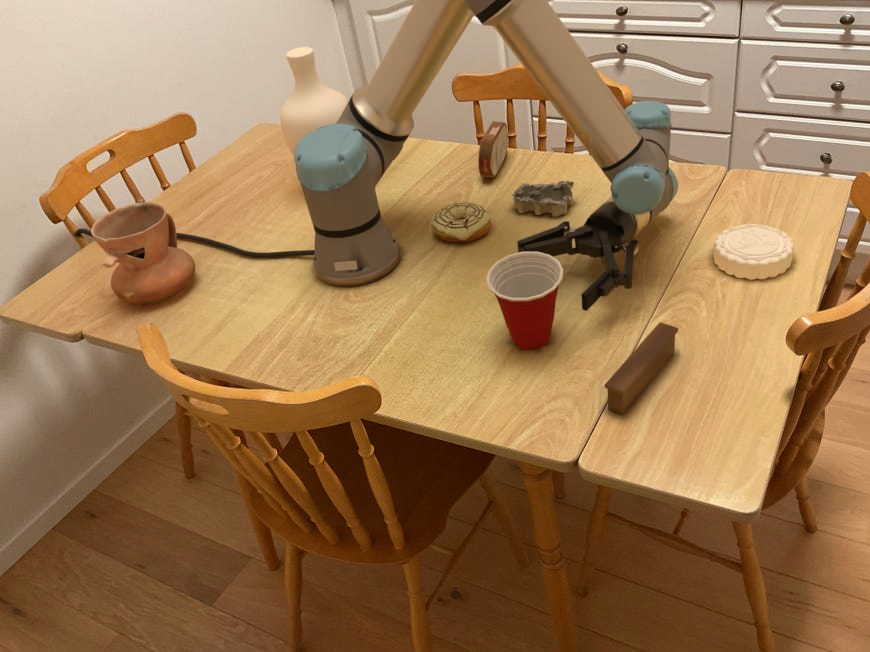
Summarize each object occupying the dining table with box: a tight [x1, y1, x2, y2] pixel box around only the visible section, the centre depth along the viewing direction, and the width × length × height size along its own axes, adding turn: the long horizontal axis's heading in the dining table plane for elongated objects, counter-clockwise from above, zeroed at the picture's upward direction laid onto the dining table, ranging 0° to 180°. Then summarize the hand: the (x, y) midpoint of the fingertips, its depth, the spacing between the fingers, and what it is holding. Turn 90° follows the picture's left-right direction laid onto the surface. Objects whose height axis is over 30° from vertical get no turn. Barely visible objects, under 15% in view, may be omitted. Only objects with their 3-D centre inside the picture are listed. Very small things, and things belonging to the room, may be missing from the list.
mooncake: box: [712, 223, 795, 281], centre depth 123 cm, size 12×12×4 cm
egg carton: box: [511, 180, 575, 218], centre depth 144 cm, size 11×8×4 cm
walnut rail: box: [604, 321, 679, 416], centre depth 104 cm, size 3×15×4 cm, turn 142°
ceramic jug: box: [90, 201, 196, 305], centre depth 135 cm, size 18×14×14 cm
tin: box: [478, 120, 509, 179], centre depth 157 cm, size 15×3×8 cm, turn 164°
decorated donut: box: [430, 201, 492, 243], centre depth 141 cm, size 10×11×4 cm
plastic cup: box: [485, 251, 564, 351], centre depth 111 cm, size 11×11×12 cm
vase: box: [279, 46, 349, 158], centre depth 154 cm, size 14×14×28 cm
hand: (544, 289), depth 113 cm, fingers open, 13 cm apart
